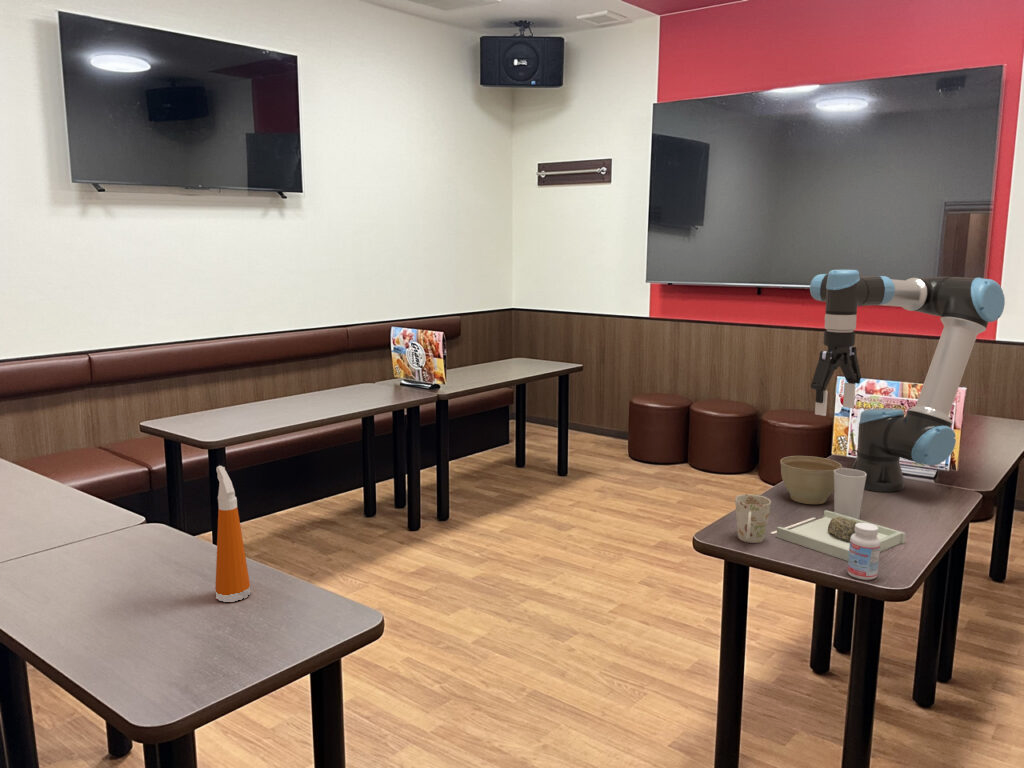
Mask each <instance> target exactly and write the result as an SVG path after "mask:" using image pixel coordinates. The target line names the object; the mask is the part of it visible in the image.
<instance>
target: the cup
mask: <svg viewBox="0 0 1024 768" xmlns="http://www.w3.org/2000/svg"><path fill="white" fill-rule="evenodd" d="M866 475H867V474H866V473H865V472H863V471H860V470H856V469H852V468H843V467H842V468H840V469H835V470H834V491H833V493H834V494H833V502H834V504H833V512H835V513H838V514H842V515H845V516H849V517H852V518H855V519H859V520H860V516H861V509H862V505H863V497H864V492H865V491H864V490H865V489H864V486H865V481H866Z"/></svg>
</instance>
